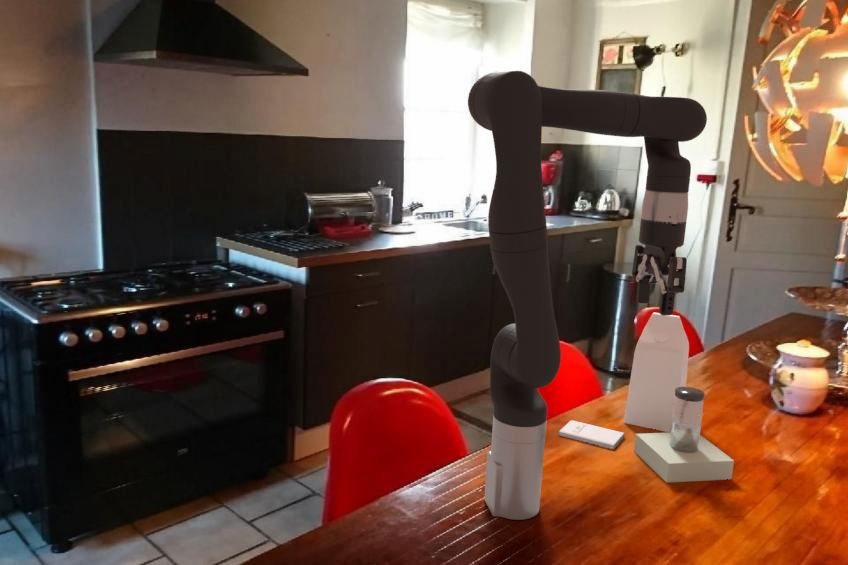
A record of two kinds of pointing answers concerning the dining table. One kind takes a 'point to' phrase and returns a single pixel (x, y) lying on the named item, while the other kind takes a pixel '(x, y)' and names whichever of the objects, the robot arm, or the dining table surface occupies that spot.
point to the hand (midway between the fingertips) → (653, 308)
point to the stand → (683, 459)
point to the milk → (657, 372)
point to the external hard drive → (592, 434)
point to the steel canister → (686, 419)
